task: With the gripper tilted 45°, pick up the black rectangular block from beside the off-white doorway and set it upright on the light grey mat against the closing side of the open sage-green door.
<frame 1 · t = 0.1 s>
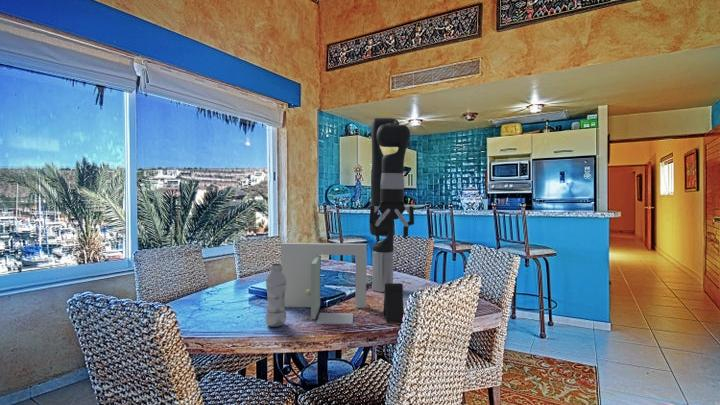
hand: (391, 237, 123), 29 cm above the table, tool pointing down, fingers open, 8 cm apart
door frame: (336, 306, 144), on the table
plastic bottle: (275, 326, 124), on the table
black rectangular block: (393, 318, 133), on the table
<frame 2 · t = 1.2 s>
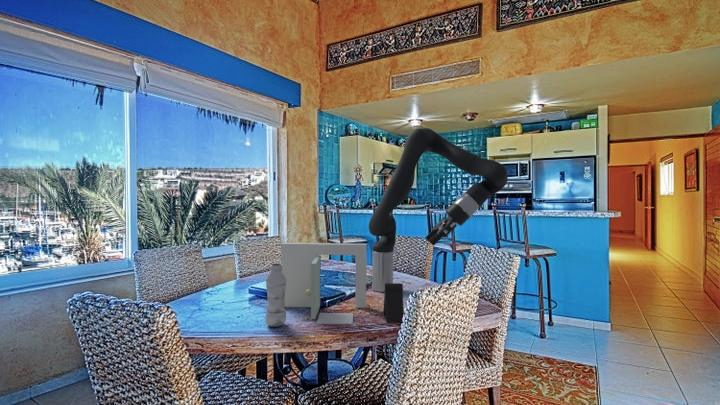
hand: (429, 241, 134), 27 cm above the table, tool tilted 45°, fingers open, 8 cm apart
nothing on the table moved.
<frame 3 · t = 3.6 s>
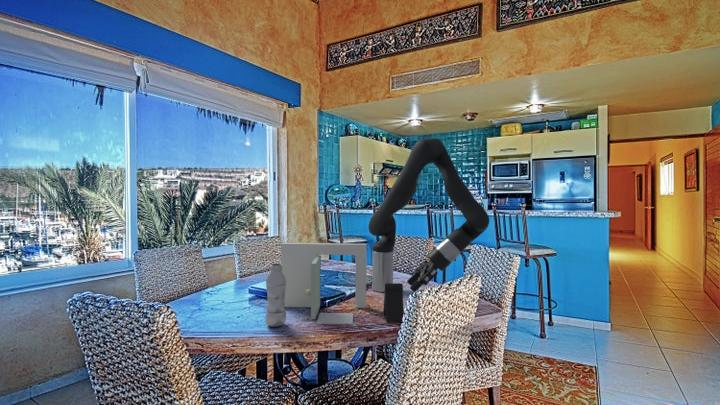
hand: (410, 286, 132), 11 cm above the table, tool tilted 45°, fingers open, 8 cm apart
nothing on the table moved.
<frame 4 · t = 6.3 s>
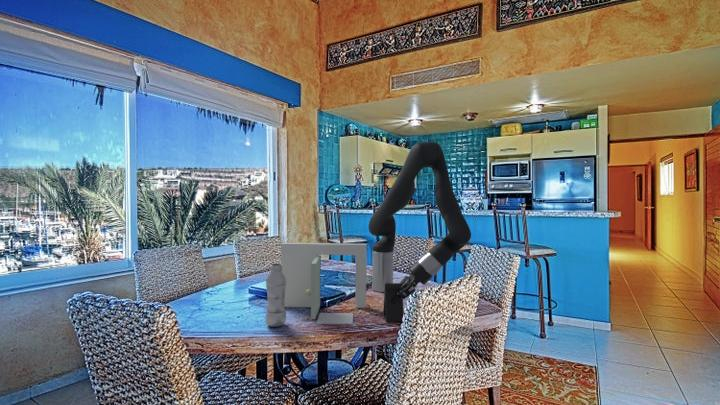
hand: (390, 301, 133), 6 cm above the table, tool tilted 45°, fingers closed on black rectangular block, 3 cm apart
black rectangular block: (393, 318, 133), on the table, touching gripper
everything else where it was.
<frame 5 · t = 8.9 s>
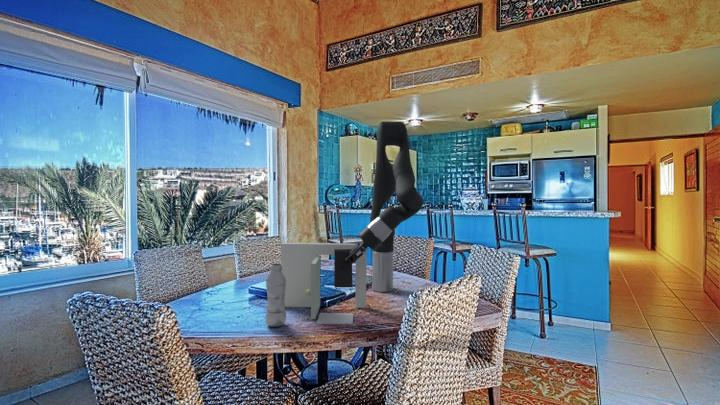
hand: (340, 268, 130), 18 cm above the table, tool tilted 45°, fingers closed on black rectangular block, 3 cm apart
black rectangular block: (343, 284, 131), point 12 cm above the table, touching gripper
everything else where it was.
when the fingers open (7 cm above the table, at t = 11.5 s): black rectangular block drops 1 cm, resting on door frame.
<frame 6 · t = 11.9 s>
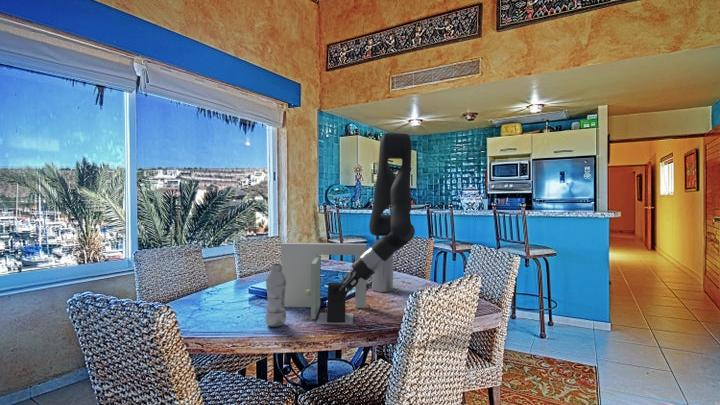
hand: (334, 296, 131), 8 cm above the table, tool tilted 45°, fingers open, 7 cm apart
black rectangular block: (336, 318, 131), resting on door frame
everything else where it was.
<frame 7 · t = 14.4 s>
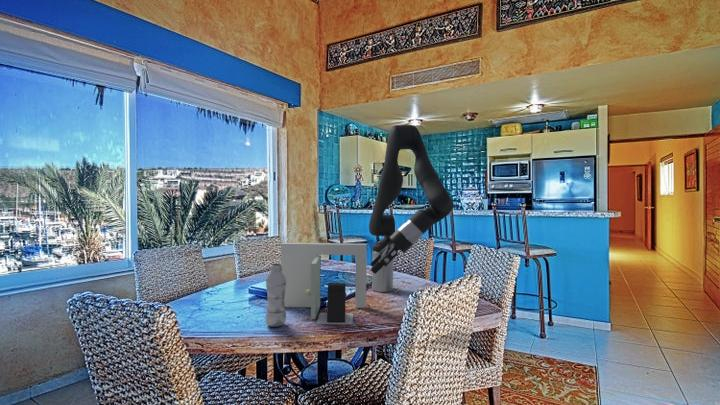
hand: (372, 268, 130), 18 cm above the table, tool tilted 45°, fingers open, 8 cm apart
nothing on the table moved.
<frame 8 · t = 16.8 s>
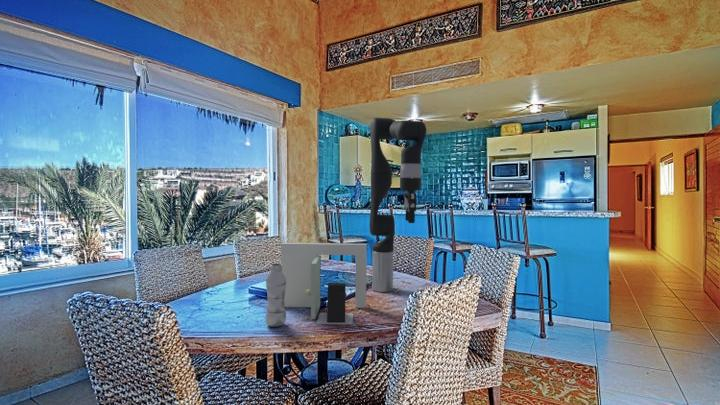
hand: (409, 221, 137), 33 cm above the table, tool pointing down, fingers open, 8 cm apart
nothing on the table moved.
at the end: black rectangular block inside the target area (0.3 cm from its centre), resting on door frame; black rectangular block tilted 0°; the gripper is holding nothing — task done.
